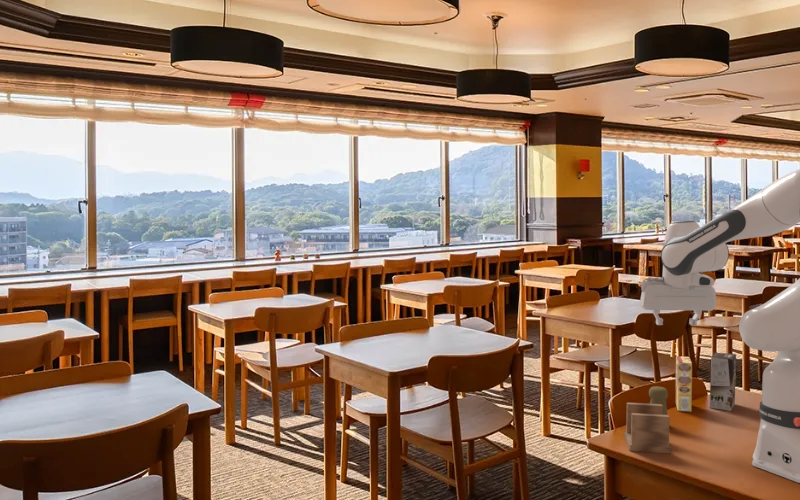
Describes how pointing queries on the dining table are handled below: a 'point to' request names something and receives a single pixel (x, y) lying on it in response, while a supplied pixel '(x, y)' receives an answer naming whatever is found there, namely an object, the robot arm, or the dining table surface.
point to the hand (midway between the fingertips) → (676, 324)
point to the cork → (659, 397)
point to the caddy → (647, 428)
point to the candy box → (683, 383)
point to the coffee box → (722, 381)
